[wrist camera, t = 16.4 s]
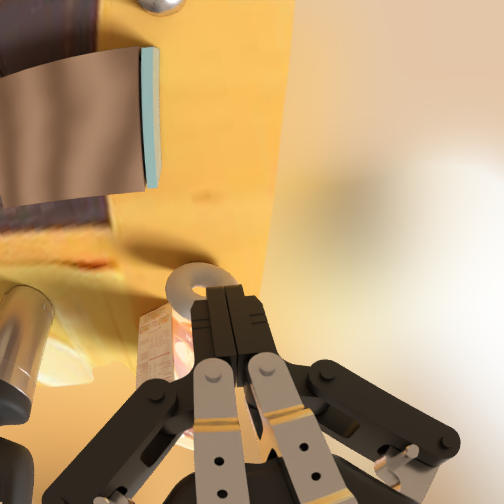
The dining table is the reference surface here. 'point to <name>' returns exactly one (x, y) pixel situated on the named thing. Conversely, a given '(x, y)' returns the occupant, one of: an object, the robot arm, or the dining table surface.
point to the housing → (72, 129)
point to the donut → (193, 284)
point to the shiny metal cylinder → (161, 6)
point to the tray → (150, 114)
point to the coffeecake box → (165, 352)
